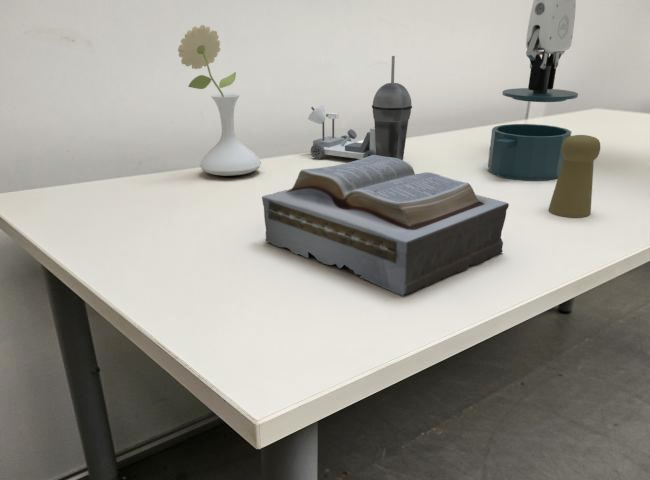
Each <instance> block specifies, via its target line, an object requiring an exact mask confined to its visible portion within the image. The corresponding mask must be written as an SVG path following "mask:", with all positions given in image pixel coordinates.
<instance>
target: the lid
mask: <svg viewBox="0 0 650 480" xmlns="http://www.w3.org/2000/svg"><path fill="white" fill-rule="evenodd" d="M545 69H547V73H546V79H545V86H544V90H543V91H535V90H529V89H528V87H520V88H519V87H518V88H508V89H504V90H502V93H501V95H502V96H503V97H507V98H511V99H513V100H515V101H521V102H532V103H560V102H565V101H568V100H575V99H577V98H578V97H579V93H578V92H576V91H573V90H568V89H559V88H558V89H557V88H553V89H548V84H549V77H550V71H551V66H550V65H546V67H545Z"/></svg>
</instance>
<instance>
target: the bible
mask: <svg viewBox="0 0 650 480" xmlns="http://www.w3.org/2000/svg"><path fill="white" fill-rule="evenodd" d="M261 200H262V206H263V215H264V225H265V242H267V243H270V244H271V245H272V246H273V245H274V246H276V247H279V248H286V249H288V250H290V253H293V254H294V255H296V256H298V255H301V256H302V257H304V258H307V259H309V254H311V256H313V257H314V258H315V259H316V260H317V261H318V262H319V263H322V264H324V265H327V266H333V265H335V266H336V267H337V268H338V269H342V268H343V267H344V266H345V267H346V268H348V269H349V270H352V271H353V273H354V274H355V275H358V276H359V278H361V279H363V280H366V281H368V282H370V283H371V284H373V285H376V286H378V287H380V288H383V289H385V290H387V291H390V292H392V293H394V294H396V295H398V296H401V297H403V298H404V297H405V295H406V294H407V295H408V294H411V293H413V292H416V291H417V290H420V289H422V288H423V287H425V286H429V285H433V284H436V283H437V282H438V281H440V280H443V279H445V278H446V277H448V276H452V275H455V274H456V273H461V272H465V271H467V270H469V266H471V265H478V264H482V263H483V262H484V261H486V260H489V259H492V257H494V256H496V255H498V254H500V253H502V252H504V251H503V246H504V241H503V239H502V231H503V228H504V225H505V221H506V217H507V210H508V209H509V206H510V205H509V204H510V203H508V202H506V201H502V200H499V199H495V198H491V197H486V196H483V195H479V194H476V193H475V191H474V189H473V187H472V185H471V184H470V183H469V182H467V181H462V180H458V179H457V180H456V179H453V178H450V177H447V176H443V175H440V174H437V173H435V172H426V171H425V172H420V173H415V170H414V168H413V166H412V165H411V164H410V163H409V162H407V161H405V160H404V159H403V160H400V159H397V158H392V157H383V156H377V155H371V156H368V157H366V158H362V159H356V160H353V161H350V162H346V163H345V162H344V163H340V164H335V165H330V166H323V167H316V168H315V167H314V168H304V169H301V170H300V172H299V173H298V175H297V178H296V180H295V182H294V184H293V186H292V188H288V189H284V190H281V191H277V192H273V193H268V194H265V195H263V196H261Z"/></svg>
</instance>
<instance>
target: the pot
mask: <svg viewBox="0 0 650 480" xmlns="http://www.w3.org/2000/svg"><path fill="white" fill-rule="evenodd" d="M572 133H573V132H572V130H569V129H567V128H565V127H560V126H555V125H548V124H534V123H533V124H532V123H511V124H509V123H508V124H501V125H495V126H494V127H492V129H491V136H490V143H489V144H490V145H489V152H488V159H487V162H488V163H487V171H488V172H489V173H490V174H492V175H494V176H497V177H500V178H505V179H511V180H518V181H532V182H533V181H535V182H536V181H537V182H538V181H539V182H540V181H550V180H551V181H552V180H558V176H559V173H560V170H561V167H562V163H563V160H564V158H563V156H562V152H561V149H562V144H563V142H564V140H565V139H566V138H567V137H569V136H572Z"/></svg>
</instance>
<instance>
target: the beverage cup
mask: <svg viewBox="0 0 650 480" xmlns="http://www.w3.org/2000/svg"><path fill="white" fill-rule="evenodd" d="M395 60H396V55H392V56H391V68H390V71H391V72H390V82H387V83H385V84H383V85H382V86H380V87H379V88H378V90H377V91H376V92H375V94H374V97H373V100H372V105H371V109H372V116H373V121H374V127H375V143H376V155H377V156H383V157H392V158H397V159H400V160H403V161H404V157H405V156H404V155H405V149H406V148H405V147H406V141H407V134H408V126H409V121H410V117H411V114H412V113H411V112H412V109H413V105H412V98H411V95H410V93H409V90H408V89H407V88H406V87H405V86H404V85H403V84H401V83H399V82H395V66H396V65H395V64H396V63H395V62H396V61H395Z"/></svg>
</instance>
